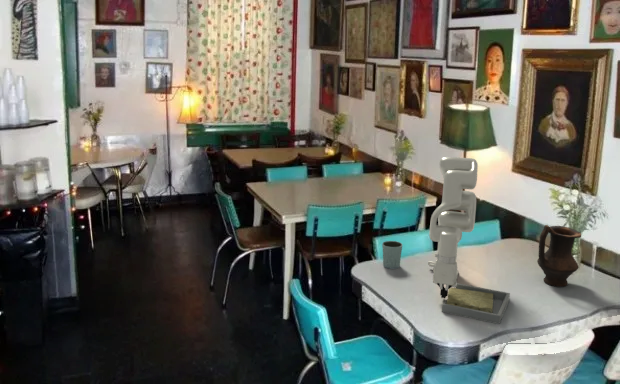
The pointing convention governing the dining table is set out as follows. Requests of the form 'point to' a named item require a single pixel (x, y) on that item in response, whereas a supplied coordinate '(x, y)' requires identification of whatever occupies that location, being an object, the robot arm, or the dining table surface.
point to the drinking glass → (391, 254)
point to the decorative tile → (471, 299)
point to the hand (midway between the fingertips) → (443, 297)
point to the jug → (557, 254)
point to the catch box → (475, 313)
